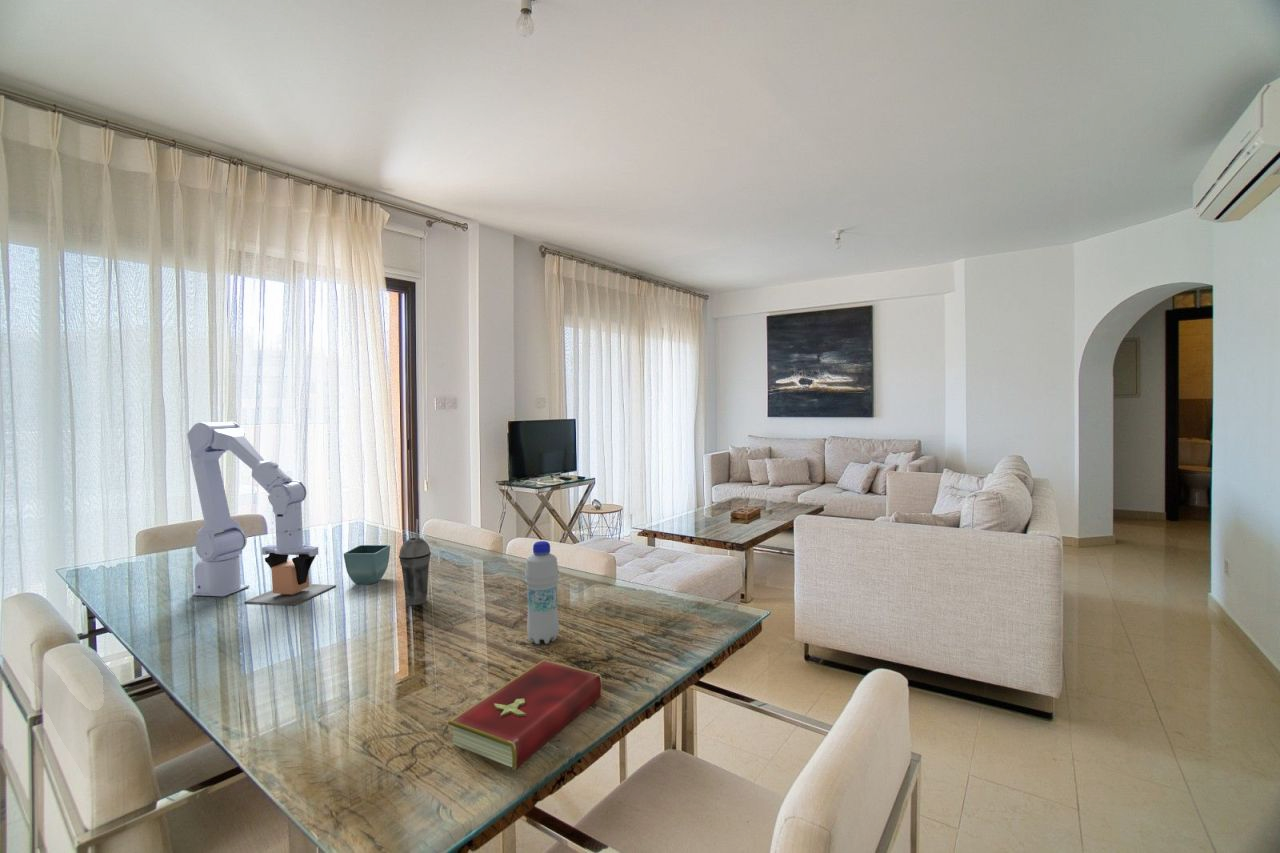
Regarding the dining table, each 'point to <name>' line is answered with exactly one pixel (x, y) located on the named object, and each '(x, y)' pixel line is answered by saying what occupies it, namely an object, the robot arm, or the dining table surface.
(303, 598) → the post block
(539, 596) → the bottle
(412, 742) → the dining table surface
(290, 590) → the block
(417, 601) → the beverage cup
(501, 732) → the hardcover book
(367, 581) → the flower pot
